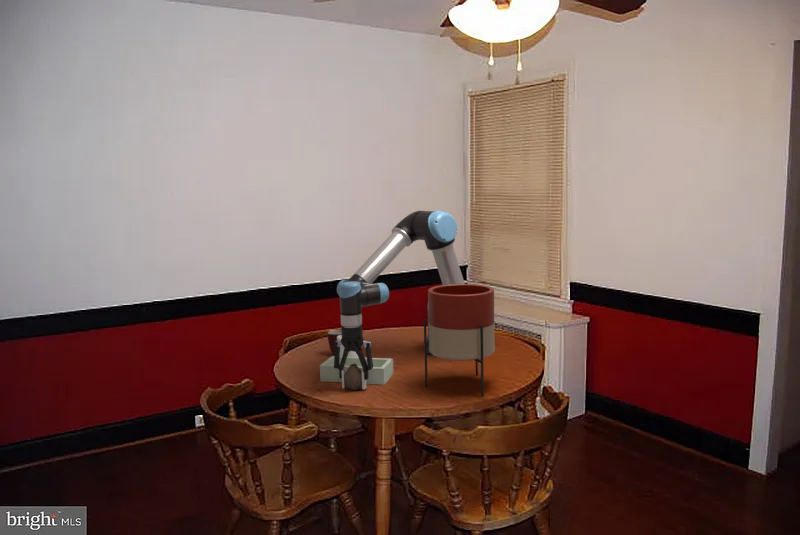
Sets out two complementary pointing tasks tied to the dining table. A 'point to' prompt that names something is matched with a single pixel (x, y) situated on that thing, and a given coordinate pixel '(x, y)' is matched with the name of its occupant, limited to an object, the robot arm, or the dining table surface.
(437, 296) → the planter
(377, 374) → the green rectangular tray
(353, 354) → the candle holder
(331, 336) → the mug
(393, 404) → the dining table surface
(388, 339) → the dining table surface
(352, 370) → the vase
